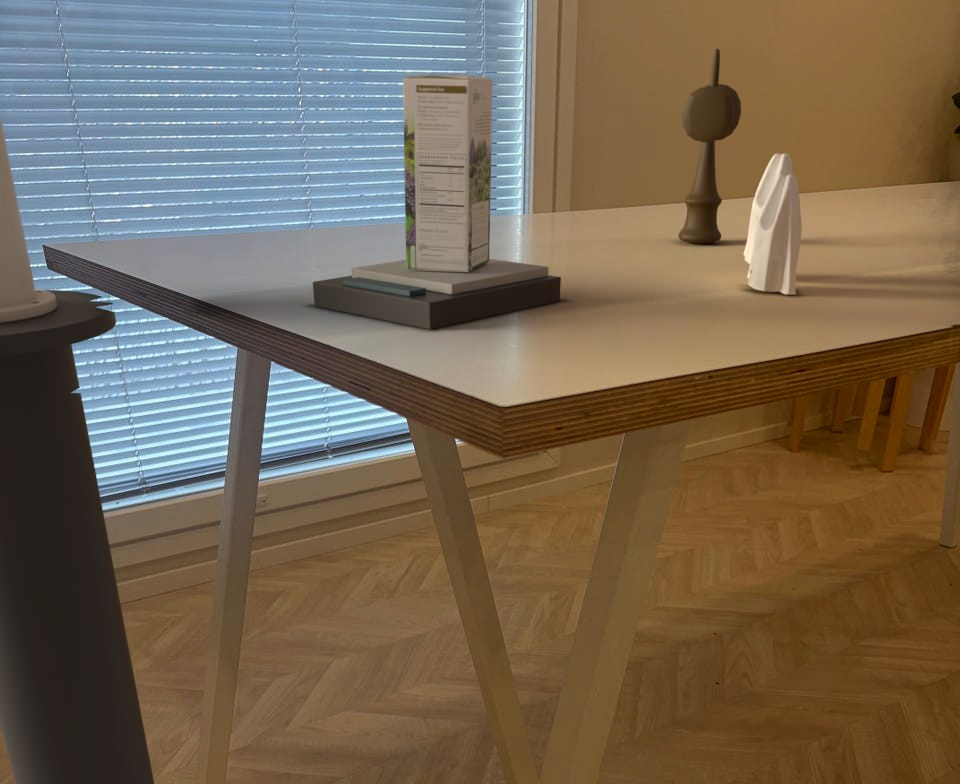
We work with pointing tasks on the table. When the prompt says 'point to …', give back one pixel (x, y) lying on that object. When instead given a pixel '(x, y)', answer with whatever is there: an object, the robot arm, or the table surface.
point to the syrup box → (447, 171)
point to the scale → (437, 292)
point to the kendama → (707, 152)
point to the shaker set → (775, 229)
